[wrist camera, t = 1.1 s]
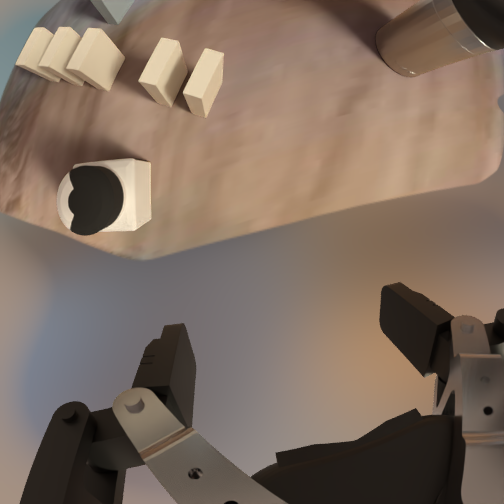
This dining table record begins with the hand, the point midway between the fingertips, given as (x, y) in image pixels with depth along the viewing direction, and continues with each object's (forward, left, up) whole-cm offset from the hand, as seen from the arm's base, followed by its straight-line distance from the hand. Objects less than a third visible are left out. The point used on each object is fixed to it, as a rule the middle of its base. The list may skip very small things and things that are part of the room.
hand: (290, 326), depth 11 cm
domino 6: (-13, -9, -24) cm, 29 cm away
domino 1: (-13, -32, -24) cm, 42 cm away
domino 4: (-13, -23, -24) cm, 36 cm away
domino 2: (-13, -27, -24) cm, 39 cm away
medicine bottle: (+1, -15, -25) cm, 29 cm away
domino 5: (-13, -14, -24) cm, 31 cm away
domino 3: (-23, -27, -24) cm, 43 cm away
